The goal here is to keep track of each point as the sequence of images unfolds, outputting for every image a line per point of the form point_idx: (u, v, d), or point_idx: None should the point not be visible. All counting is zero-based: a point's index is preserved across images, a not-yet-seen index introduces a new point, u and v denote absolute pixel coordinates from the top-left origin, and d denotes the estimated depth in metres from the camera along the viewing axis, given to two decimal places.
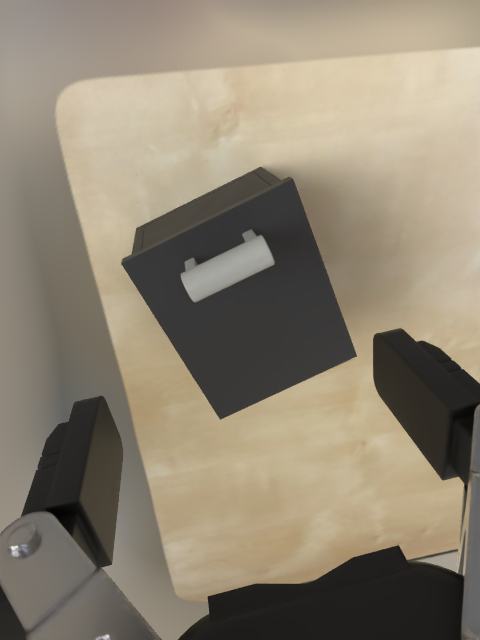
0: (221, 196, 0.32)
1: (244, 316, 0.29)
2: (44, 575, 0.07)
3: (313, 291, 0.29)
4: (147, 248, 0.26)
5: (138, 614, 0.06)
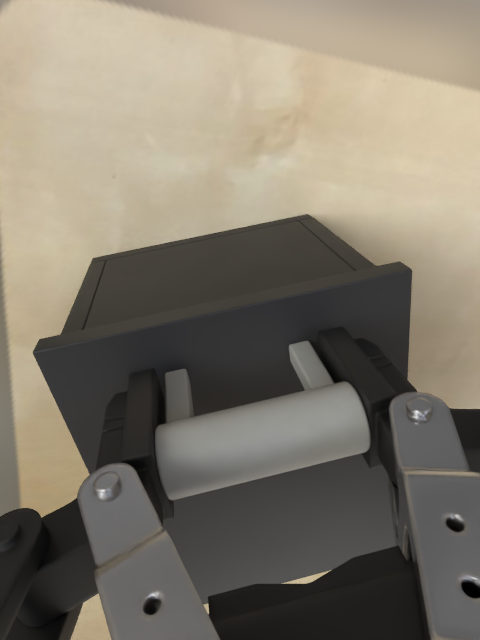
0: (245, 248, 0.20)
1: None
2: (118, 522, 0.08)
3: None
4: (96, 332, 0.13)
5: (191, 583, 0.06)
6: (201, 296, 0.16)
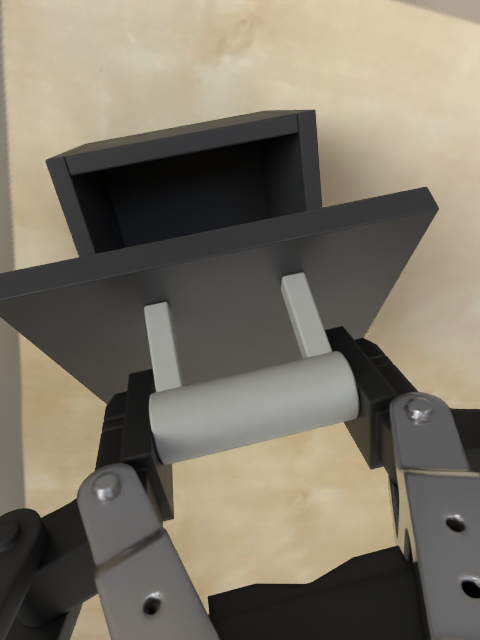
0: (208, 123, 0.24)
1: (220, 358, 0.17)
2: (118, 522, 0.08)
3: None
4: (59, 275, 0.10)
5: (190, 583, 0.06)
6: (166, 134, 0.20)
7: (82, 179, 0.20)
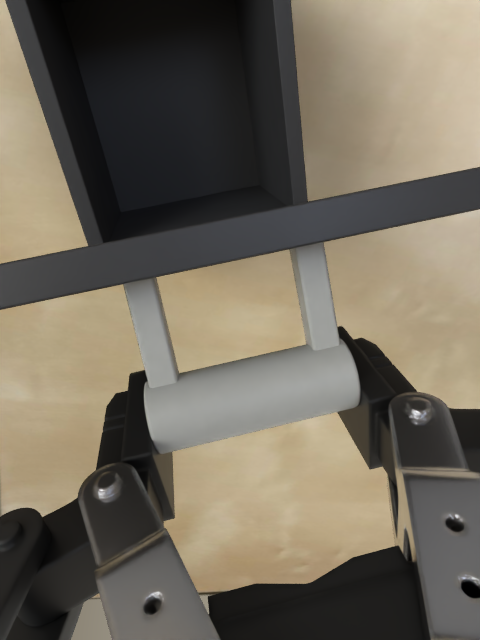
0: None
1: None
2: (119, 522, 0.08)
3: None
4: (11, 287, 0.08)
5: (191, 583, 0.06)
6: None
7: None
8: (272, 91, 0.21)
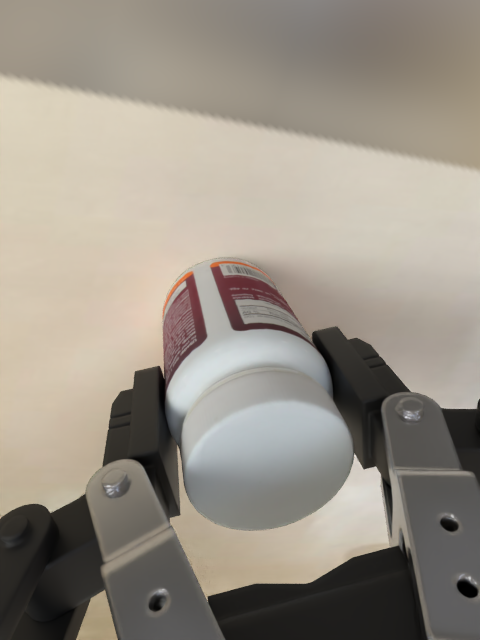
0: None
1: None
2: (126, 518, 0.08)
3: None
4: None
5: (196, 581, 0.06)
6: None
7: None
8: None
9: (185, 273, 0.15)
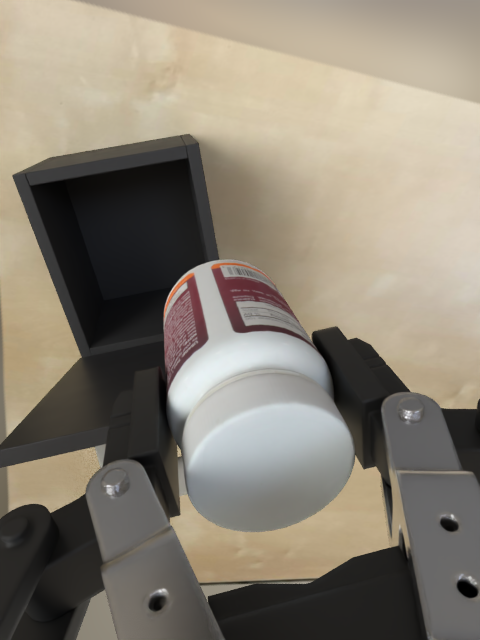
0: (139, 145, 0.32)
1: None
2: (126, 518, 0.08)
3: None
4: (40, 451, 0.18)
5: (196, 581, 0.06)
6: (99, 156, 0.28)
7: (40, 187, 0.28)
8: None
9: (186, 275, 0.15)
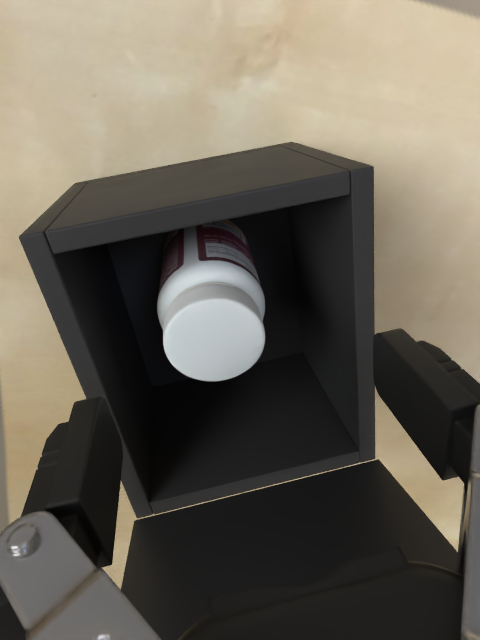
0: (226, 163, 0.19)
1: None
2: (44, 575, 0.07)
3: None
4: None
5: (138, 614, 0.06)
6: (176, 191, 0.15)
7: None
8: (339, 328, 0.19)
9: None
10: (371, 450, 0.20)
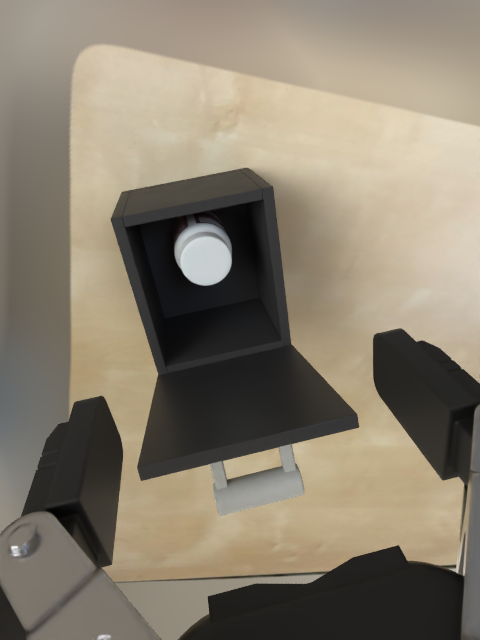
0: (207, 182, 0.35)
1: None
2: (44, 575, 0.07)
3: None
4: (174, 466, 0.21)
5: (138, 614, 0.06)
6: (181, 197, 0.32)
7: None
8: (268, 271, 0.35)
9: None
10: (288, 340, 0.36)
